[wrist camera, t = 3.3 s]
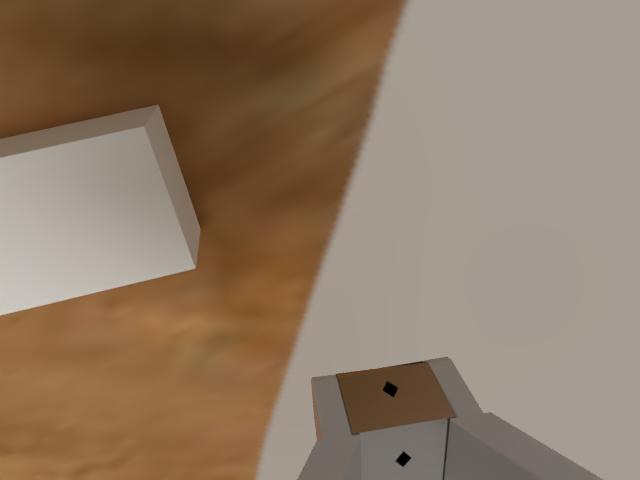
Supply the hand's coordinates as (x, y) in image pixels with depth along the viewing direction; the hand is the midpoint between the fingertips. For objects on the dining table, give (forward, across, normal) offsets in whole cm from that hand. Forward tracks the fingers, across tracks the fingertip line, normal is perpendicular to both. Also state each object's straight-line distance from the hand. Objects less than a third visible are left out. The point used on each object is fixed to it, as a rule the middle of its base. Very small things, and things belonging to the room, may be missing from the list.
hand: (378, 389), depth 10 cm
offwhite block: (+14, +10, 0) cm, 17 cm away
